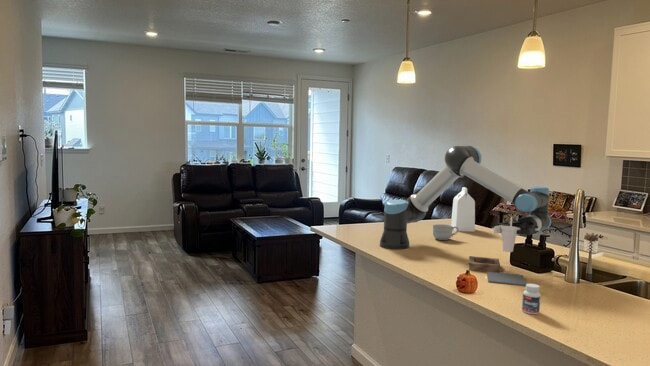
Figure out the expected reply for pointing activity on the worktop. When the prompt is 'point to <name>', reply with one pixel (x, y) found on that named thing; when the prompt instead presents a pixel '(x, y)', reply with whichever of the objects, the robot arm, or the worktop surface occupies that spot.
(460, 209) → the milk
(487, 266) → the wooden tray
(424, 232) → the worktop surface
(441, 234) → the teacup
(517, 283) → the mat
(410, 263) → the worktop surface
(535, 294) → the pill bottle
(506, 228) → the smoothie
